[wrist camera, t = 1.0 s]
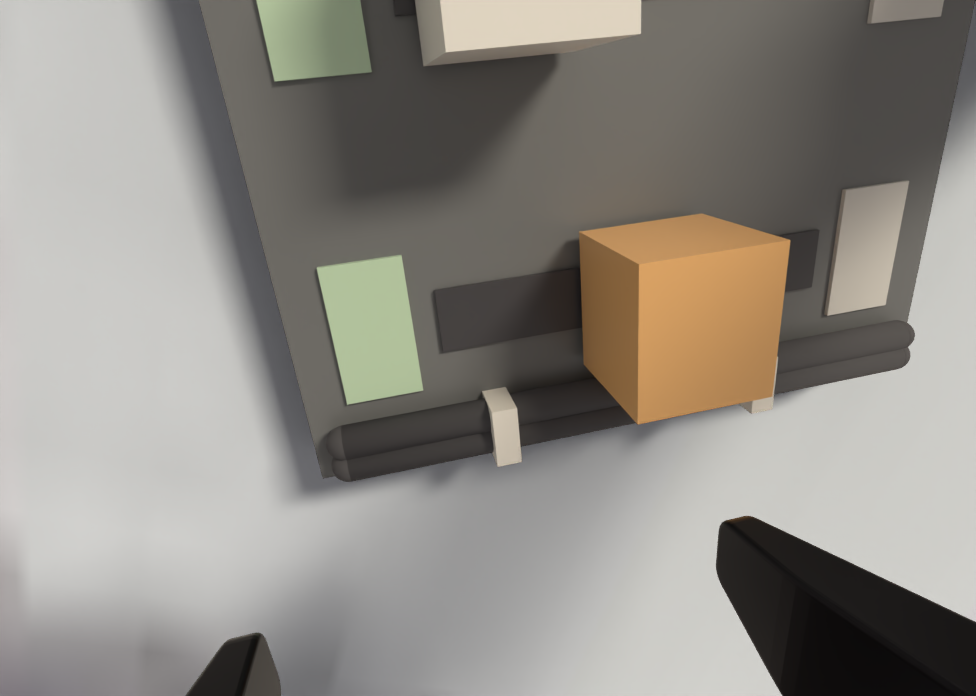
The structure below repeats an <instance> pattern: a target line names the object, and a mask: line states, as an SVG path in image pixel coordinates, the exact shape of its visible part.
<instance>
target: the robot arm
mask: <svg viewBox="0 0 976 696" xmlns="http://www.w3.org/2000/svg"><path fill="white" fill-rule="evenodd" d="M716 570H717V575H718V578H719V581H720V583H721V585H722V587H723V589H724V591H725V592H726V594H727V596H728V598H729V600H730V602H731V603H732V605H733V607H734V609H735V611H736V613H737V615H738V616H739V618H740V620H741V622H742V624H743V626H744V627H745V629H746V631H747V633H748V635H749V637H750V639H751V640H752V642H753V644H754V646H755V648H756V650H757V651H758V653H759V655H760V657H761V659H762V661H763V663H764V664H765V666H766V668H767V670H768V672H769V674H770V675H771V677H772V679H773V680H774V682H775V684H776V686H777V687H778V689H779V691H780V692H781V694H782V696H976V622H975V621H972V620H970V619H968V618H966V617H964V616H962V615H960V614H958V613H956V612H953V611H951V610H949V609H947V608H945V607H943V606H941V605H939V604H937V603H934V602H932V601H930V600H928V599H926V598H924V597H922V596H920V595H918V594H915V593H913V592H911V591H909V590H907V589H905V588H903V587H901V586H898V585H896V584H894V583H892V582H890V581H888V580H886V579H884V578H882V577H879V576H877V575H875V574H873V573H871V572H869V571H867V570H865V569H863V568H860V567H858V566H856V565H854V564H852V563H850V562H848V561H846V560H843V559H841V558H839V557H837V556H835V555H833V554H831V553H829V552H827V551H824V550H822V549H820V548H818V547H816V546H814V545H812V544H810V543H808V542H805V541H803V540H801V539H799V538H797V537H795V536H793V535H791V534H789V533H786V532H784V531H782V530H780V529H778V528H776V527H774V526H772V525H769V524H767V523H765V522H763V521H761V520H759V519H757V518H754V517H751V516H743V517H739V518H735V519H731V520H726V521H724V522H722V524H721V525H720V527H719V535H718V546H717V558H716ZM186 696H281V686H280V680H279V676H278V672H277V670H276V667H275V664H274V661H273V658H272V656H271V653H270V650H269V647H268V644H267V641H266V639H265V637H264V636H263V635H262V634H261V633H252V634H248V635H244V636H240V637H236V638H232V639H229V640H227V641H226V642H225V643H224V644H223V645H222V646H221V647H220V649H219V650H218V652H217V653H216V654H215V656H214V657H213V658H212V660H211V661H210V663H209V664H208V665H207V667H206V668H205V670H204V671H203V672H202V674H201V675H200V676H199V678H198V679H197V681H196V682H195V683H194V685H193V686H192V687H191V689H190V690H189V692H188V693H187V694H186Z"/></svg>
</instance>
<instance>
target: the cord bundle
mask: <svg viewBox="0 0 976 696" xmlns="http://www.w3.org/2000/svg"><path fill="white" fill-rule="evenodd" d="M914 337H915V333H914V330H913V328H912V327H911V326H910V325H909V324H908V323H906V322H904V321H900V320H893V321H887V322H882V323H877V324H872V325H866V326H861V327H856V328H851V329H845V330H840V331H835V332H830V333H824V334H819V335H814V336H809V337H803V338H798V339H793V340H788V341H782V342H779V344H778V353H777V361H776V370H775V378H774V387H773V396H772V397H769V398H764V399H759V400H754V401H749V402H744V403H740V404H739V405H741V406H742V407H743V408H745V409H746V410H747V411H749V412H750V413H751V414H752V413H757V412H762V411H767V410H771V409H772V407H773V398H774V394H779V393H784V392H789V391H793V390H798V389H803V388H808V387H813V386H818V385H823V384H827V383H832V382H837V381H842V380H847V379H852V378H857V377H862V376H866V375H871V374H876V373H881V372H886V371H891V370H896V369H899V368H902V367H903V366H905V365H906V364H907V363H908V361H909V359H910V351H909V349H908V346H909V345H910V344H911V343H912V342H913V340H914ZM482 395H483V399H478V400H472V401H467V402H462V403H457V404H451V405H446V406H441V407H436V408H430V409H425V410H420V411H415V412H409V413H404V414H399V415H394V416H388V417H383V418H378V419H373V420H367V421H362V422H357V423H352V424H346V425H341V426H338V427H336V428H334V429H333V430H332V431H331V432H330V433H329V435H328V437H327V440H326V447H327V450H328V452H329V454H330V455H331V456H332V457H333V459H332V464H331V467H332V471H333V473H334V475H335V476H336V477H337V478H338V479H340V480H342V481H346V482H351V481H356V480H361V479H366V478H371V477H376V476H380V475H385V474H390V473H395V472H400V471H405V470H410V469H414V468H419V467H424V466H429V465H434V464H439V463H444V462H448V461H453V460H458V459H463V458H468V457H473V456H478V455H483V454H487V453H492V454H493V456H494V459H495V461H496V464H497V466H498V467H500V466H505V465H510V464H514V463H519V462H522V458H521V446H526V445H531V444H536V443H541V442H546V441H551V440H555V439H560V438H565V437H570V436H575V435H580V434H585V433H589V432H594V431H599V430H604V429H609V428H614V427H619V426H623V425H628V424H633V423H636V422H635V421H634V420H633V419H632V418H631V417H630V415H629V414H628V413H627V412H626V411H625V410H624V409H623V408H622V407H621V405H620V404H619V403H618V402H617V401H616V400H615V399H614V398H613V396H612V395H611V394H610V393H609V392H608V391H607V390H606V389H605V388H604V386H603V385H602V384H601V383H600V382H599V381H598V380H597V379H596V378H595V377H593V378H588V379H583V380H577V381H572V382H567V383H562V384H556V385H551V386H546V387H541V388H535V389H530V390H525V391H520V392H514V393H509V392H508V390H507V389H506V387H502V388H496V389H491V390H486V391H482Z"/></svg>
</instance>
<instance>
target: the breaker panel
mask: <svg viewBox="0 0 976 696" xmlns="http://www.w3.org/2000/svg"><path fill="white" fill-rule="evenodd" d="M974 3H975V0H641V34H639V35H635V36H631V37H627V38H624V39H620V40H616V41H612V42H608V43H605V44H601V45H597V46H593V47H589V48H586V49H582V50H578V51H574V52H566V53H556V54H545V55H535V56H525V57H515V58H504V59H494V60H484V61H474V62H463V63H453V64H443V65H432V66H423V59H422V52H421V44H420V36H419V28H418V20H417V13H416V5H415V0H199V4H200V7H201V11H202V15H203V19H204V23H205V27H206V31H207V34H208V38H209V42H210V46H211V50H212V54H213V57H214V61H215V65H216V69H217V73H218V77H219V81H220V84H221V88H222V92H223V96H224V100H225V104H226V108H227V111H228V115H229V119H230V123H231V127H232V131H233V134H234V138H235V142H236V146H237V150H238V154H239V158H240V161H241V165H242V169H243V173H244V177H245V181H246V184H247V188H248V192H249V196H250V200H251V204H252V208H253V211H254V215H255V219H256V223H257V227H258V231H259V234H260V238H261V242H262V246H263V250H264V254H265V258H266V261H267V265H268V269H269V273H270V277H271V281H272V285H273V288H274V292H275V296H276V300H277V304H278V308H279V311H280V315H281V319H282V323H283V327H284V331H285V335H286V338H287V342H288V346H289V350H290V354H291V358H292V361H293V365H294V369H295V373H296V377H297V381H298V385H299V388H300V392H301V396H302V400H303V404H304V408H305V411H306V415H307V419H308V423H309V427H310V431H311V435H312V438H313V442H314V446H315V450H316V454H317V458H318V461H319V465H320V469H321V473H322V477H323V478H328V477H333V476H335V475H334V473H333V471H332V467H331V464H332V459H333V457H332V456H331V455H330V454H329V452H328V450H327V447H326V440H327V437H328V435H329V433H330V432H331V431H332V430H333V429H334V428H336V427H338V426H341V425H346V424H352V423H357V422H362V421H367V420H373V419H378V418H383V417H388V416H394V415H399V414H404V413H409V412H415V411H420V410H425V409H430V408H436V407H441V406H446V405H451V404H457V403H462V402H467V401H472V400H478V399H483V395H482V391H486V390H491V389H496V388H502V387H506V389H507V390H508V392H509V393H514V392H520V391H525V390H530V389H535V388H541V387H546V386H551V385H556V384H562V383H567V382H572V381H577V380H583V379H588V378H593V377H595V376H594V375H593V374H592V373H591V372H590V371H589V370H588V369H587V367H586V366H585V365H584V361H583V331H582V302H581V272H580V243H579V232H580V231H587V230H594V229H600V228H607V227H614V226H621V225H627V224H634V223H641V222H647V221H654V220H661V219H668V218H674V217H681V216H688V215H695V214H701V213H702V214H705V215H709V216H712V217H715V218H719V219H722V220H725V221H729V222H732V223H735V224H739V225H742V226H745V227H749V228H752V229H755V230H759V231H762V232H765V233H769V234H772V235H775V236H779V237H782V238H785V239H789V240H790V249H789V258H788V266H787V275H786V283H785V292H784V301H783V309H782V318H781V327H780V335H779V342H782V341H788V340H793V339H798V338H803V337H809V336H814V335H819V334H824V333H830V332H835V331H840V330H845V329H851V328H856V327H861V326H866V325H872V324H877V323H882V322H887V321H893V320H900V321H904V322H906V323H907V321H908V316H909V311H910V306H911V302H912V297H913V292H914V287H915V283H916V278H917V273H918V269H919V264H920V259H921V254H922V250H923V245H924V240H925V235H926V231H927V226H928V221H929V216H930V212H931V207H932V202H933V197H934V193H935V188H936V183H937V178H938V174H939V169H940V164H941V159H942V155H943V150H944V145H945V140H946V136H947V131H948V126H949V121H950V117H951V112H952V107H953V103H954V98H955V93H956V88H957V84H958V79H959V74H960V69H961V65H962V60H963V55H964V50H965V46H966V41H967V36H968V31H969V27H970V22H971V17H972V12H973V8H974Z"/></svg>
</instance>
